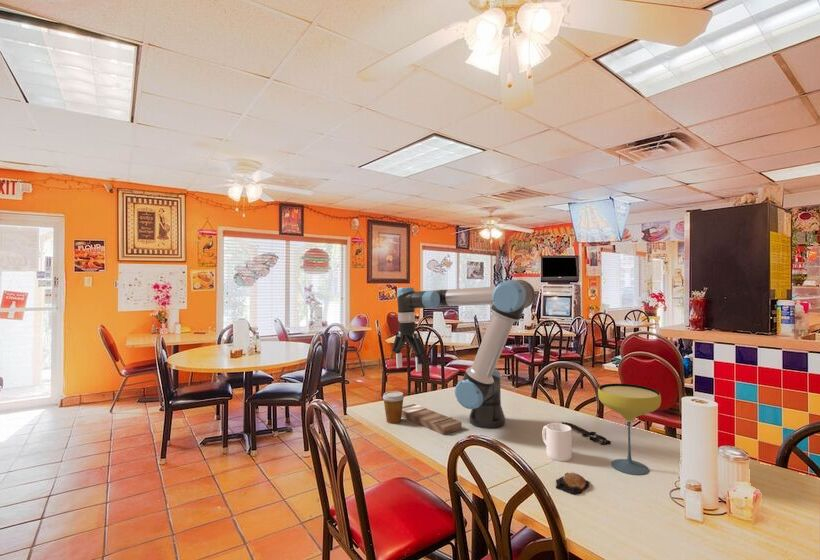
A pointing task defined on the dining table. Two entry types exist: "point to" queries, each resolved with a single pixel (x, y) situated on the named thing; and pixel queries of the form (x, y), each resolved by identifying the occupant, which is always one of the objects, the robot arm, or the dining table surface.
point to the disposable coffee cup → (393, 406)
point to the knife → (588, 434)
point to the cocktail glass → (629, 414)
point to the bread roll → (572, 483)
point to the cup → (558, 441)
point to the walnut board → (430, 419)
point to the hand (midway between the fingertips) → (408, 369)
